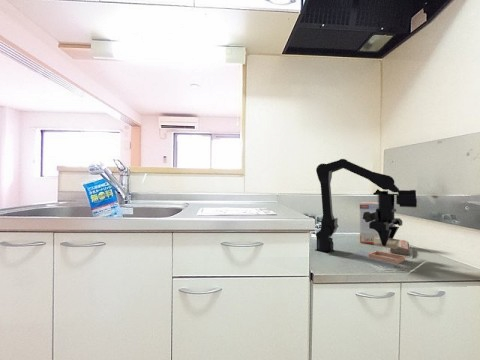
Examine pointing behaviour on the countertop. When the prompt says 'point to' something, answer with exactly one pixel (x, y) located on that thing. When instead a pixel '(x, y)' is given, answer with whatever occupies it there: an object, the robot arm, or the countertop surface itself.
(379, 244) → the cream rectangular prism
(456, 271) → the countertop surface
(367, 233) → the cracker box
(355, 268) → the countertop surface
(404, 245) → the packaged product
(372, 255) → the frame
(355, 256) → the mat
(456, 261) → the countertop surface
